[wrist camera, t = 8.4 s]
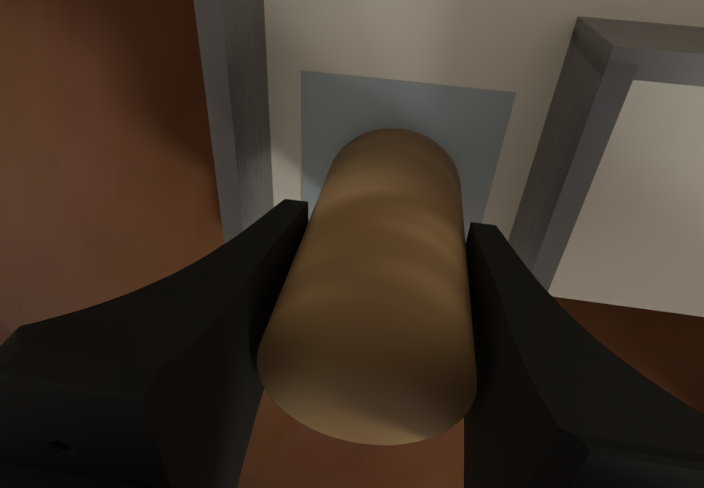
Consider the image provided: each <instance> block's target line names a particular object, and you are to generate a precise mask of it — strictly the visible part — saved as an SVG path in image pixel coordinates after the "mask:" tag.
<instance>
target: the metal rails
mask: <svg viewBox="0 0 704 488" xmlns="http://www.w3.org/2000/svg"><path fill="white" fill-rule="evenodd" d="M194 8H195V16H196V24H197V32H198V40H199V47H200V55H201V63H202V71H203V79H204V87H205V95H206V103H207V110H208V118H209V126H210V134H211V142H212V150H213V158H214V166H215V174H216V181H217V189H218V197H219V205H220V213H221V221H222V229H223V237H224V244H225V243H227V242H228V241H230V240H231V239H233V238H234V237H236V236H237V235H238V234H240V233H241V232H242V231H244V230H245V229H246V228H248V227H249V226H250V225H252V224H253V223H254V222H256V221H257V220H258V219H259V218H261V217H262V216H263V215H265V214H266V213H267V212H268V211H270V210H271V209H272V208H273V207H274V202H273V181H272V160H271V139H270V118H269V98H268V77H267V56H266V35H265V14H264V0H194ZM633 80H639V81H649V82H659V83H670V84H680V85H690V86H700V87H704V27H695V26H684V25H672V24H661V23H650V22H638V21H627V20H616V19H604V18H593V17H581V16H578V17H577V20H576V23H575V27H574V30H573V33H572V36H571V40H570V43H569V46H568V49H567V53H566V56H565V59H564V62H563V65H562V69H561V72H560V75H559V78H558V82H557V85H556V88H555V91H554V95H553V98H552V101H551V104H550V107H549V111H548V114H547V117H546V120H545V124H544V127H543V130H542V133H541V137H540V140H539V143H538V146H537V150H536V153H535V156H534V159H533V162H532V166H531V169H530V172H529V175H528V179H527V182H526V185H525V188H524V192H523V195H522V198H521V201H520V204H519V208H518V211H517V214H516V217H515V221H514V224H513V227H512V230H511V234H510V237H509V240H508V242H509V244H510V245H511V246H512V248H513V249H514V251H515V252H516V253H517V255H518V256H519V257H520V259H521V260H522V261H523V263H524V264H525V265H526V267H527V268H528V269H529V270H530V272H531V273H532V274H533V275H534V276H535V278H536V279H537V280H538V281H539V282H540V284H541V285H542V286H543V287H544V288H545V289H546V290H547V292H548V290H549V288H550V285H551V283H552V281H553V278H554V276H555V273H556V271H557V268H558V266H559V263H560V261H561V258H562V256H563V253H564V251H565V248H566V246H567V243H568V241H569V238H570V236H571V233H572V231H573V228H574V226H575V223H576V221H577V218H578V216H579V213H580V211H581V208H582V206H583V203H584V201H585V198H586V196H587V193H588V191H589V188H590V186H591V183H592V181H593V178H594V176H595V173H596V171H597V169H598V166H599V164H600V161H601V159H602V156H603V154H604V151H605V149H606V146H607V144H608V141H609V139H610V136H611V134H612V131H613V129H614V126H615V124H616V121H617V119H618V116H619V114H620V111H621V109H622V106H623V104H624V101H625V99H626V96H627V94H628V91H629V89H630V86H631V84H632V81H633Z"/></svg>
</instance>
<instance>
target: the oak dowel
mask: <svg viewBox="0 0 704 488" xmlns="http://www.w3.org/2000/svg"><path fill="white" fill-rule="evenodd" d="M257 368H258V374H259V377H260V379H261V382H262V384H263V386H264V388H265V389H266V391H267V393H268V394H269V395H270V397H271V398H272V399H273V401H274V402H275V403H276V404H277V405H278V406H279V407H280V408H281V409H282V410H284V411H285V412H286V413H287V414H289V415H290V416H291V417H293V418H294V419H296V420H297V421H299V422H300V423H302V424H304V425H306V426H307V427H309V428H311V429H314V430H316V431H318V432H320V433H323V434H326V435H328V436H331V437H334V438H338V439H341V440H345V441H350V442H355V443H362V444H369V445H398V444H407V443H413V442H418V441H421V440H425V439H428V438H431V437H434V436H436V435H439V434H441V433H443V432H444V431H446V430H448V429H450V428H451V427H453V426H454V425H455V424H457V423H458V422H459V421H460V420H461V419H462V418H463V417H464V416H465V415H466V413H467V412H468V411H469V409H470V408H471V406H472V404H473V401H474V399H475V395H476V391H477V373H476V361H475V349H474V338H473V326H472V314H471V302H470V290H469V278H468V266H467V254H466V242H465V230H464V218H463V206H462V194H461V183H460V177H459V174H458V171H457V168H456V166H455V164H454V162H453V160H452V159H451V157H450V156H449V155H448V153H447V152H446V151H445V150H444V149H443V148H442V147H441V146H440V145H438V144H437V143H436V142H435V141H433V140H431V139H430V138H428V137H426V136H424V135H422V134H420V133H417V132H413V131H410V130H405V129H395V128H388V129H379V130H374V131H370V132H367V133H365V134H362V135H360V136H358V137H356V138H355V139H353V140H352V141H350V142H349V143H347V144H346V145H345V146H344V147H343V148H342V149H341V150H340V151H339V153H338V154H337V155H336V157H335V158H334V160H333V162H332V164H331V167H330V169H329V171H328V174H327V176H326V179H325V181H324V184H323V186H322V189H321V192H320V194H319V197H318V199H317V202H316V204H315V207H314V209H313V212H312V214H311V217H310V219H309V222H308V224H307V227H306V229H305V232H304V234H303V237H302V239H301V242H300V244H299V247H298V249H297V252H296V254H295V257H294V259H293V262H292V264H291V267H290V269H289V272H288V274H287V277H286V279H285V282H284V285H283V287H282V290H281V292H280V295H279V297H278V300H277V302H276V305H275V307H274V310H273V312H272V315H271V317H270V320H269V322H268V325H267V327H266V330H265V332H264V335H263V337H262V340H261V342H260V345H259V348H258V353H257Z"/></svg>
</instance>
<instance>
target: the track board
mask: <svg viewBox="0 0 704 488" xmlns="http://www.w3.org/2000/svg"><path fill="white" fill-rule="evenodd" d="M264 14H265V35H266V56H267V77H268V98H269V118H270V139H271V160H272V181H273V202H274V207H275V206H276V205H277V204H279V203H280V202H281V201H283V200H284V199H291V200H299V201H307V202H308V222H309V219H310V217H311V214H312V212H313V209H314V207H315V204H316V202H317V199H318V197H319V194H320V192H321V189H322V186H323V184H324V181H325V179H326V176H327V174H328V171H329V169H330V167H331V164H332V162H333V160H334V158H335V157H336V155H337V154H338V153H339V151H340V150H341V149H342V148H343V147H344V146H345V145H346V144H347V143H349V142H350V141H352V140H353V139H355V138H356V137H358V136H360V135H362V134H365V133H367V132H370V131H374V130H379V129H388V128H395V129H405V130H410V131H413V132H417V133H420V134H422V135H424V136H426V137H428V138H430V139H431V140H433V141H435V142H436V143H437V144H438V145H440V146H441V147H442V148H443V149H444V150H445V151H446V152H447V153H448V155H449V156H450V157H451V159H452V160H453V162H454V164H455V166H456V168H457V171H458V174H459V177H460V183H461V194H462V206H463V218H464V230H465V242H466V239H467V235H468V231H469V227H470V223H471V222H475V223H483V224H491V225H496V226H497V227H498V228H499V230H500V231H501V233H502V234H503V235H504V237H505V238H506V239H507V241H508V240H509V237H510V234H511V230H512V227H513V224H514V221H515V217H516V214H517V211H518V208H519V204H520V201H521V198H522V195H523V192H524V188H525V185H526V182H527V179H528V175H529V172H530V169H531V166H532V162H533V159H534V156H535V153H536V150H537V146H538V143H539V140H540V137H541V133H542V130H543V127H544V124H545V120H546V117H547V114H548V111H549V107H550V104H551V101H552V98H553V95H554V91H555V88H556V85H557V82H558V78H559V75H560V72H561V69H562V65H563V62H564V59H565V56H566V53H567V49H568V46H569V43H570V40H571V36H572V33H573V30H574V27H575V23H576V20H577V17H578V16H581V17H593V18H604V19H616V20H627V21H638V22H650V23H661V24H672V25H684V26H695V27H704V0H264ZM548 293H549V294H550V295H551V296H553V297H560V298H567V299H575V300H582V301H590V302H597V303H604V304H612V305H619V306H627V307H634V308H641V309H649V310H656V311H663V312H671V313H678V314H686V315H693V316H700V317H704V87H700V86H690V85H680V84H670V83H659V82H649V81H639V80H633V81H632V84H631V86H630V89H629V91H628V94H627V96H626V99H625V101H624V104H623V106H622V109H621V111H620V114H619V116H618V119H617V121H616V124H615V126H614V129H613V131H612V134H611V136H610V139H609V141H608V144H607V146H606V149H605V151H604V154H603V156H602V159H601V161H600V164H599V166H598V169H597V171H596V173H595V176H594V178H593V181H592V183H591V186H590V188H589V191H588V193H587V196H586V198H585V201H584V203H583V206H582V208H581V211H580V213H579V216H578V218H577V221H576V223H575V226H574V228H573V231H572V233H571V236H570V238H569V241H568V243H567V246H566V248H565V251H564V253H563V256H562V258H561V261H560V263H559V266H558V268H557V271H556V273H555V276H554V278H553V281H552V283H551V285H550V288H549V290H548Z"/></svg>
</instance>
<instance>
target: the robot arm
mask: <svg viewBox="0 0 704 488" xmlns="http://www.w3.org/2000/svg"><path fill="white" fill-rule="evenodd" d="M307 224H308V202H307V201H299V200H291V199H284V200H283V201H281V202H280V203H279V204H277V205H276V206H275V207H273V208H272V209H271V210H270V211H268V212H267V213H266V214H265V215H263V216H262V217H261V218H259V219H258V220H257V221H256V222H254V223H253V224H252V225H250V226H249V227H248V228H246V229H245V230H244V231H242V232H241V233H240V234H238V235H237V236H236V237H234V238H233V239H231V240H230V241H228V242H227V243H225V244H224V245H222V246H221V247H219V248H218V249H216V250H215V251H213V252H212V253H210V254H208V255H207V256H205V257H203V258H202V259H200V260H198V261H197V262H195V263H193V264H191V265H189V266H187V267H186V268H184V269H182V270H180V271H178V272H176V273H174V274H172V275H170V276H168V277H166V278H163V279H161V280H159V281H157V282H154V283H152V284H150V285H147V286H145V287H143V288H141V289H138V290H136V291H134V292H131V293H129V294H126V295H123V296H121V297H118V298H115V299H112V300H110V301H107V302H104V303H101V304H98V305H95V306H92V307H89V308H86V309H82V310H79V311H76V312H72V313H69V314H65V315H61V316H58V317H54V318H50V319H47V320H43V321H39V322H35V323H32V324H27V325H23V326H20V327H19V328H18V329H17V330H16V331H15V332H14V333H13V334H12V335H11V336H10V337H9V338H8V339H7V340H6V341H5V342H4V343H3V344H2V345H1V346H0V488H237V484H238V481H239V477H240V473H241V469H242V465H243V461H244V457H245V454H246V450H247V446H248V443H249V439H250V436H251V432H252V428H253V425H254V421H255V417H256V414H257V411H258V407H259V404H260V400H261V397H262V393H263V390H264V386H263V384H262V382H261V379H260V377H259V374H258V368H257V353H258V348H259V345H260V342H261V340H262V337H263V335H264V332H265V330H266V327H267V325H268V322H269V320H270V317H271V315H272V312H273V310H274V307H275V305H276V302H277V300H278V297H279V295H280V292H281V290H282V287H283V285H284V282H285V279H286V277H287V274H288V272H289V269H290V267H291V264H292V262H293V259H294V257H295V254H296V252H297V249H298V247H299V244H300V242H301V239H302V237H303V234H304V232H305V229H306V227H307ZM466 254H467V266H468V278H469V290H470V302H471V314H472V326H473V338H474V349H475V361H476V373H477V391H476V395H475V399H474V401H473V404H472V406H471V408H470V409H469V411H468V412H467V413H466V415H465V416H464V488H704V414H702V413H700V412H699V411H697V410H695V409H694V408H692V407H690V406H688V405H687V404H685V403H683V402H682V401H680V400H679V399H677V398H676V397H674V396H673V395H671V394H670V393H668V392H667V391H665V390H664V389H662V388H661V387H659V386H658V385H656V384H655V383H653V382H652V381H650V380H649V379H647V378H646V377H645V376H643V375H642V374H640V373H639V372H638V371H636V370H635V369H633V368H632V367H631V366H629V365H628V364H627V363H625V362H624V361H623V360H622V359H620V358H619V357H618V356H616V355H615V354H614V353H613V352H611V351H610V350H609V349H608V348H606V347H605V346H604V345H603V344H601V343H600V342H599V341H598V340H597V339H595V338H594V337H593V336H592V335H591V334H590V333H589V332H588V331H586V330H585V329H584V328H583V327H582V326H581V325H580V324H579V323H578V322H577V321H576V320H575V319H573V318H572V317H571V316H570V315H569V314H568V313H567V312H566V311H565V310H564V309H563V308H562V307H561V306H560V305H559V304H558V302H557V301H556V300H555V299H554V298H553V297H552V296H551V295H550V294H549V293H548V292H547V290H546V289H545V288H544V287H543V286H542V285H541V284H540V282H539V281H538V280H537V279H536V278H535V276H534V275H533V274H532V273H531V272H530V270H529V269H528V268H527V267H526V265H525V264H524V263H523V261H522V260H521V259H520V257H519V256H518V255H517V253H516V252H515V251H514V249H513V248H512V246H511V245H510V244H509V242H508V241H507V239H506V238H505V237H504V235H503V234H502V233H501V231H500V230H499V228H498V227H497V226H496V225H491V224H483V223H475V222H471V223H470V227H469V231H468V235H467V239H466Z"/></svg>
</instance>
